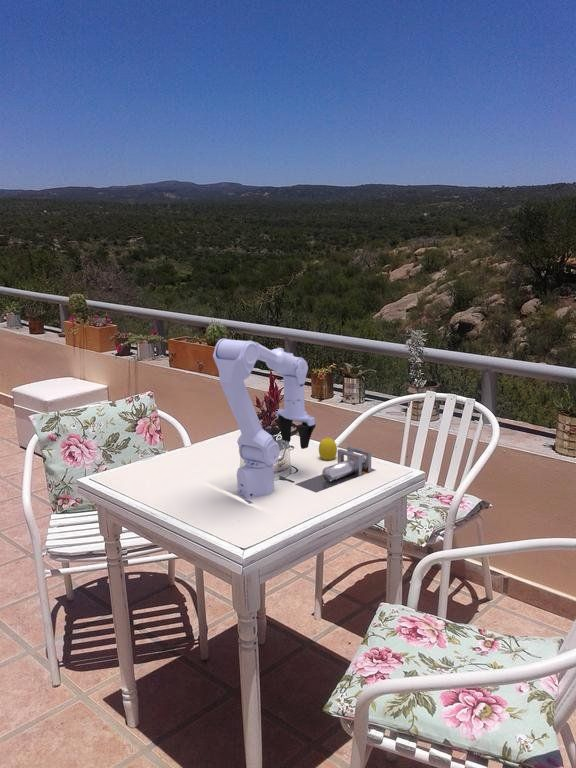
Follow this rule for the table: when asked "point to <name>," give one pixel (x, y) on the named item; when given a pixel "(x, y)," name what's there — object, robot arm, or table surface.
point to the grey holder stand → (321, 484)
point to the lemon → (327, 449)
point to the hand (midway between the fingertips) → (295, 445)
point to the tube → (341, 469)
